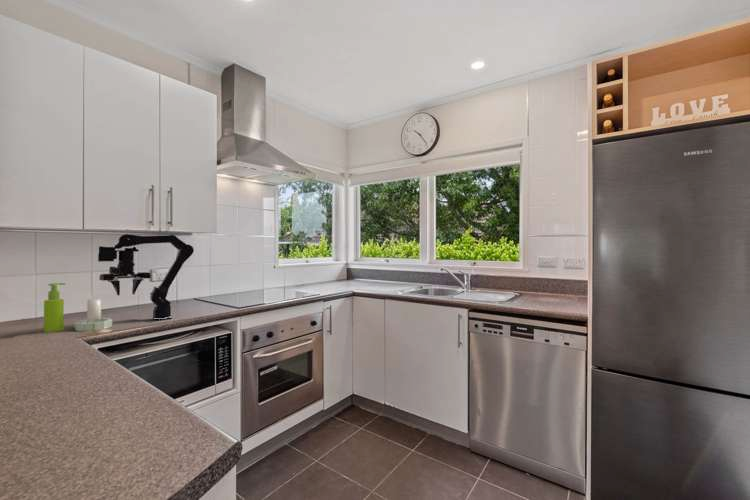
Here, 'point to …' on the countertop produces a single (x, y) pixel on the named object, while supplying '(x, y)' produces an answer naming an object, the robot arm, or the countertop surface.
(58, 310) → the soap dispenser
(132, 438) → the countertop surface
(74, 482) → the countertop surface
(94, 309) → the white dome-topped cylinder
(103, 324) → the bowl
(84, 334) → the cork mat
